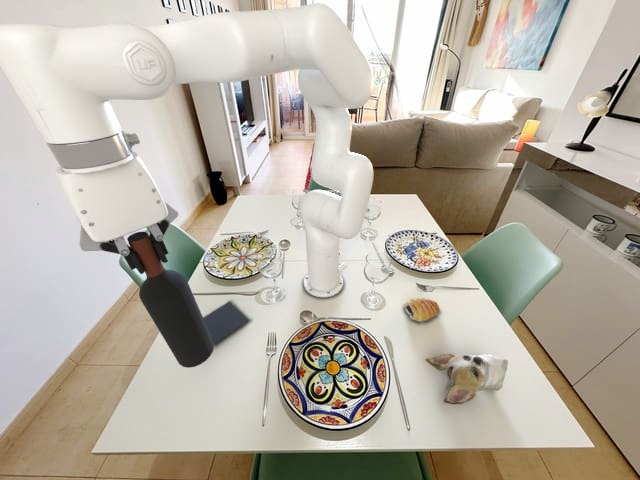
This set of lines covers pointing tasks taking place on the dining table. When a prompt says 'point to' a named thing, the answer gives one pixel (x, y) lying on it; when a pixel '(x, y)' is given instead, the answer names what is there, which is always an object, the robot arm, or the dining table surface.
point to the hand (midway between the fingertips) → (151, 263)
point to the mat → (224, 321)
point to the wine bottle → (172, 306)
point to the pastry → (421, 309)
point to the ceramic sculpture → (470, 374)
